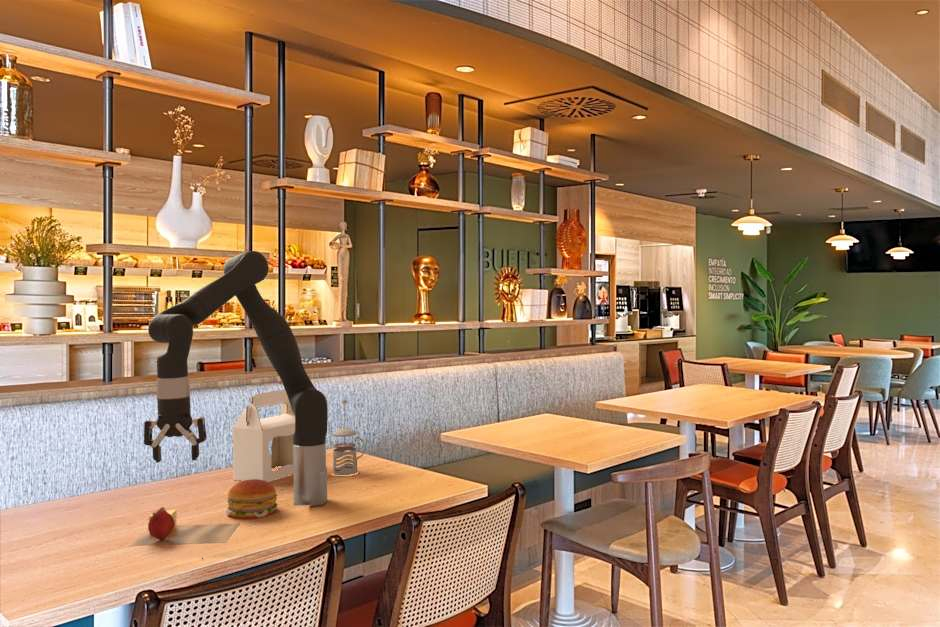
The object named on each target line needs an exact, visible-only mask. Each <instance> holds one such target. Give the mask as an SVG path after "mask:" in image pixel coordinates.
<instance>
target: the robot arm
mask: <svg viewBox="0 0 940 627" xmlns="http://www.w3.org/2000/svg"><path fill="white" fill-rule="evenodd" d="M269 269H270V268H269V263H268V260H267V258H266V257H265V255H263V254H262V253H261V252H259V251H256V250H248V251H245V252H241V253H239V254H237V255H235V256H232V257H230V258H228V259H227V260H226V261H225V263H224V265H223V275H221V276H220V277H218V278H216V279H215V280H213V281H211V282H210V283H207V284H206V285H204V286H202V287H201V288H199V289H197V290H196V291H195V292H193V293H192V294H190V295H189V296H188V297H186V299H184V300H183V301H181V302H180V303H177V304H175V305H173V306H171V307H169V308H167V309H165V310H162V311H161V312H159V313H157V314H156V315H155V316H154V317H152V319H151V320H150V322H149V325H148V330H147V332H148V335H149V337H150V338H151V339H152V341H155V342H156V343H161V344H168V347H167V349H166V352H164V353H161V354H159V355H158V356H157V358H156V376H157V380H156V402H157V419H156V420H155V419H154V420H152V419H147V420H146V421H144V423H143V424H144V425H143V429H144V430H143V444H144V445H145V446H150V447H151V448H152V458H153V460H154V461H155V463H160V462H162V448H161V447H162V446H161V445H160V444H161V442H163V440H164V439H165V438H166V437H167V438H172V437H179V438H180V437H184V438H185V439H186V440H188V441H189V442H190V444H191V446H190V448H191V461H196V460H197V459H198V458H199V456H200V444H201V443H204V442H205V441H206V440H207V438H208V436H207V429H206V420H205V417H204V416H200V417H196V418H193V417H192V411H191V391H190V387H191V386H190V379H189V367H188V366H189V365H188V359H189V358H188V357H189V354H190V351H191V350H190V349H191V346H192V341H193V336H194V326H198V325H200V324H201V323H203V322H204V321H205V320H207V319H208V318H209V317H210V316H211V315H213V314H214V313H215V312H217V311H218V310H219V309H221V308H222V306H224V305H225V304H226V303H228V302H229V301H230V300H231V299H233V298H234V297H236V299H237V300H238V302H239V305H241V307H242V308H243V310H244V313H245V314H246V316H247V318H248V320H249V322H250V323H251V326H252V328H253V329H254V331H255V334H256V336H257V338H258V341H259V343H260V345H261V347H262V349H263V351H264V353H265V355H266V356H267V358H268V360H269V362H270V364H271V365H272V367H273V368H274V370H275V372H276V374H277V375H278V376H279V378H280V380H281V382H282V385H283V388H284V390H286V393H287V396H288V399H289V402H290V405H291V408H292V410H293V412H294V413H295V432H294V435H293V475H292V476H293V504H294V505H295V506H310V507H316V506H321V505H324V504H325V503H327V500H328V468H327V458H326V457H327V453H326V452H327V450H326V449H327V445H326V444H327V442H326V441H327V440H326V439H327V433H328V417H329V416H328V412H329V411H328V400H327V398H326V396H325V395H324V393H323V392H322V391H320V390H318V389H317V388H316V387H315V385H314V384H313V382H312V380H311V379H310V376H309V375H308V373H307V372H306V370H305V369H306V368H305V367H304V364H303V361H302V357H301V356H302V355H301V353H300V348H299V346H298V342H297V340H296V337H295V335H294V333H293V330H292V329H291V326H290V324H289V323H288V321H287V320H286V318H285V317H284V316H283V315H282V314H280V313H279V311H277V310H276V309H274V308H273V307H272V306H271V305H270V304H268V303H267V302H266V301H265V299H264V298H263V297H262V295H261V293H260V291H259V290H258V287H257V286H256V284H259V283H261V282H262V281H263V280H265V278H266V277H267V275H268V274H269ZM193 424H194V426H195V427H196V428H197V431H198V436H196V435H195V432H194V431H193V430H192V429H191V426H192V425H193ZM156 426H157V428H158V429H159V430H160V431H159V433H158V435H157V436H156V438H155V439H153V429H155V428H156ZM325 505H326V504H325Z"/></svg>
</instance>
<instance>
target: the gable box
mask: <svg viewBox="0 0 940 627" xmlns="http://www.w3.org/2000/svg"><path fill="white" fill-rule="evenodd" d="M248 399H249V401H250V403H249V404H247V405H246V406H245V407H244V408H243V411H242V412H241V414H240V415H239V417H238V418H237V420H236V421H235V423H234V425H233V426H232V471H233V472H232V477H233V478H232V480H233V479H235V480H234V481H237V480H241V481H240V482H242V481H245V480H252V479H259V480H264V481H267V482H270V481H273V480H276V479H279V478H282V477H285V476H288V475H291V474H293V435H294V432H295V413H294V412H293V410H292V408H291V405H290V402H289V399H288V396H287V393H286V390H285V389H281V390H275V391H267V392H260V393H256V394H253V395H252V397H249V398H248ZM280 404H282V407H281V408H280V409H281V410H280V414H279V415H278V414H277V415H274V416H269V417H264V418H260V416H259V413H258V409H260V408H265V407H269V406H275V405H280ZM271 441H272V442H271ZM270 442H271V446H270V447H269V445H270ZM270 451H271V452H270ZM276 466H277V467H278V466H282V467H281V468H279V469H278V470H276V471H272V469H271V468H273V469H274V468H275V467H276ZM285 478H286V477H285ZM282 479H283V478H282ZM279 480H280V479H279ZM276 481H277V480H276ZM273 482H274V481H273ZM270 483H271V482H270Z"/></svg>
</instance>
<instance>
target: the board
mask: <svg viewBox="0 0 940 627" xmlns="http://www.w3.org/2000/svg"><path fill="white" fill-rule="evenodd" d="M240 524H241V523H240V522H239V523H213V524H212V523H211V524H209V523H206V524H205V523H204V524H180V525H179V524H177V528H176V529H175V530H174V531H173V532H172V533H171V534H169V535H168V536H167V537H166V538H165V539H164V540H158V539H156V538H155V537H153V536H152V535H151V534H149V530H148V529H147V530H146V531H145V532H143V534H142V535H140V536H139V537H138V538H137V539H135V540H134V542H132V543H131V544H130V546H131V547H134V546H136V547H137V546H163V545H164V546H167V545H168V546H169V545H195V544H196V545H197V544H199V545H200V544H225V543H227V542H228V541H229V539H230V538H231V536H232V535H233V534H234V533H235V531H236V529H237V528H238V527H239V525H240Z"/></svg>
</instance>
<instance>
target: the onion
mask: <svg viewBox="0 0 940 627" xmlns="http://www.w3.org/2000/svg"><path fill="white" fill-rule="evenodd" d="M164 509H166V508H165V507H164V506H162V507H159V509H157V510H158V511H157V512H156V513H155V514H154V515H153V516H152V517H151V519H150V520H149V519H148V523H147V524H148V525H147V527H148V528H147V530H149V532H150V534H151V535H152V536H153V537H155V538H156V539H158V540H164V539H165V538H166V537H167V536H168V535H169V534H170V533H171V532H172V531H173V529H174V526H175V522H174V519H173V517H172V516H171V515H170V514H169V513H168V512H166V511H164Z"/></svg>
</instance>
